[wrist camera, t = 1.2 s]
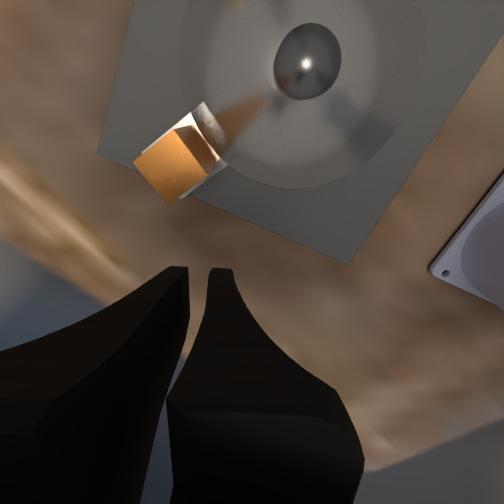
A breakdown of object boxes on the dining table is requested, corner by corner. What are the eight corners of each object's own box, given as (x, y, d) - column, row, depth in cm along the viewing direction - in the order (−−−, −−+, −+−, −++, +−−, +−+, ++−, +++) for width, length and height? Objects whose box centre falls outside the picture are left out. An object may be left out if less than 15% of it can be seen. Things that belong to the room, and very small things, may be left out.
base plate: (524, -21, 15) (586, -50, 12) (343, 257, 21) (357, 279, 18) (208, -247, 12) (196, -355, 9) (105, 151, 18) (79, 158, 15)
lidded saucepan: (345, -160, 12) (413, -351, 7) (448, 102, 16) (538, 98, 11) (90, 80, 15) (14, 65, 10) (226, 248, 19) (217, 296, 14)
